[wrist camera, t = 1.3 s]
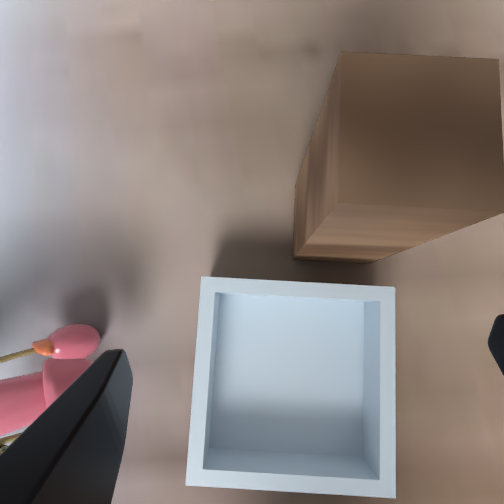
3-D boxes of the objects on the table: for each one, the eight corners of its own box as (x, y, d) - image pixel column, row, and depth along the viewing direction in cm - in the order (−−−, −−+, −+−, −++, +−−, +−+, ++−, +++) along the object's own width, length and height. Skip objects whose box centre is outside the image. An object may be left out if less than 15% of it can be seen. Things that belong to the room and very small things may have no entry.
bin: (373, 468, 22) (395, 498, 18) (196, 457, 22) (185, 485, 19) (374, 290, 24) (395, 287, 20) (209, 280, 24) (201, 276, 20)
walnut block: (369, 263, 24) (506, 211, 11) (292, 259, 24) (338, 202, 11) (370, 189, 25) (498, 59, 12) (295, 185, 25) (341, 51, 12)
